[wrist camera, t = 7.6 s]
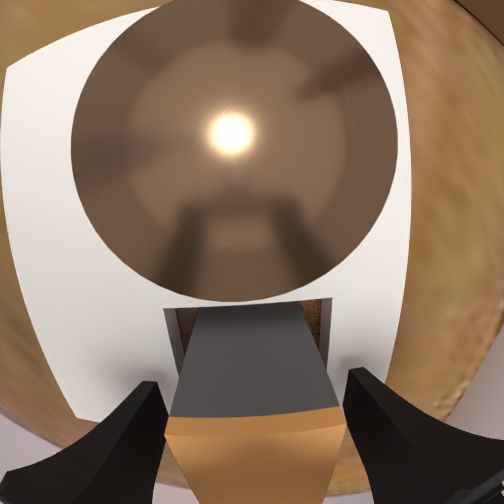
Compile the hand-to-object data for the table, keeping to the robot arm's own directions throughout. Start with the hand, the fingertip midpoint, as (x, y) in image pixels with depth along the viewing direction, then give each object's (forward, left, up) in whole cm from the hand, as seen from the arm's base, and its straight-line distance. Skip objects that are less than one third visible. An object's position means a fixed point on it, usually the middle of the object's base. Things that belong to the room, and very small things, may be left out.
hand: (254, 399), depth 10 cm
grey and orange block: (0, 0, -3) cm, 3 cm away
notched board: (-2, +6, -3) cm, 6 cm away
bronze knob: (0, +8, -1) cm, 9 cm away
